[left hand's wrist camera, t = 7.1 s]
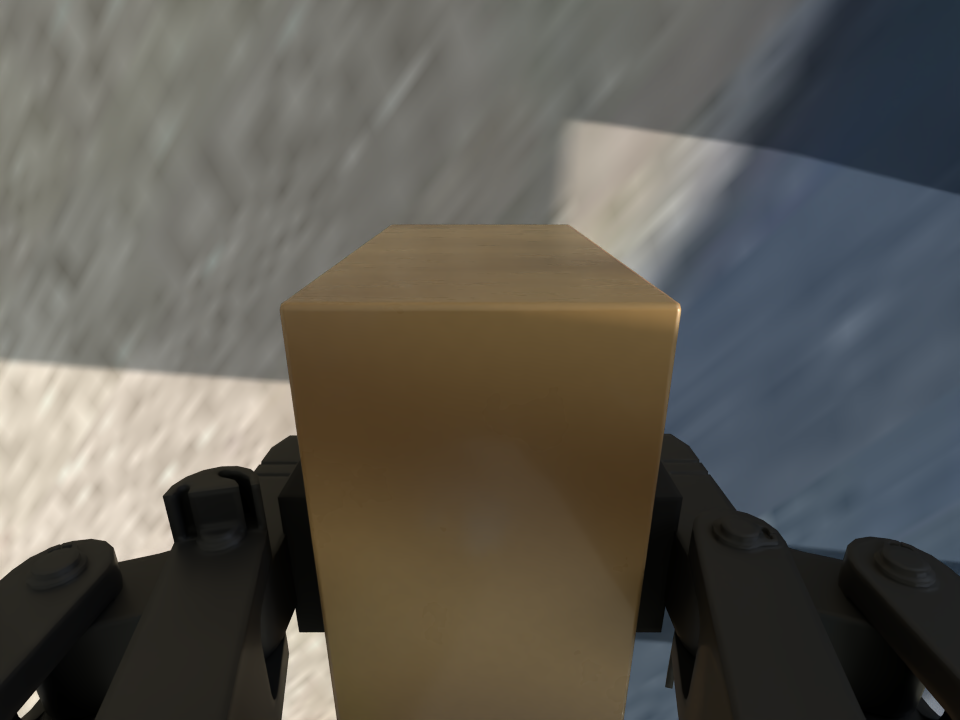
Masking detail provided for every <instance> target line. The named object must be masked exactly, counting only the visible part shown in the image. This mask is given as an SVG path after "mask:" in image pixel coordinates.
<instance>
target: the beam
mask: <svg viewBox="0 0 960 720" xmlns="http://www.w3.org/2000/svg"><path fill="white" fill-rule="evenodd" d="M680 314H681V307H680V304H679V303H678V302H676V301H675V300H673V299H672V298H671V297H669V296H668V295H666V294H665V293H664V292H662V291H661V290H659V289H658V288H657V287H655V286H654V285H652V284H651V283H650V282H648V281H647V280H645V279H644V278H643V277H641V276H640V275H638V274H637V273H636V272H634V271H633V270H631V269H630V268H629V267H627V266H626V265H624V264H623V263H622V262H620V261H619V260H617V259H616V258H615V257H613V256H612V255H610V254H609V253H608V252H606V251H605V250H603V249H602V248H601V247H599V246H598V245H596V244H595V243H594V242H592V241H591V240H589V239H588V238H587V237H585V236H584V235H582V234H581V233H580V232H578V231H577V230H575V229H574V228H573V227H571V226H570V225H391V226H389V227H388V228H386V229H385V230H383V231H382V232H381V233H379V234H378V235H376V236H375V237H374V238H372V239H371V240H370V241H368V242H367V243H365V244H364V245H363V246H361V247H360V248H358V249H357V250H356V251H354V252H353V253H351V254H350V255H349V256H347V257H346V258H344V259H343V260H342V261H340V262H339V263H338V264H336V265H335V266H333V267H332V268H331V269H329V270H328V271H326V272H325V273H324V274H322V275H321V276H319V277H318V278H317V279H315V280H314V281H312V282H311V283H310V284H308V285H307V286H306V287H304V288H303V289H301V290H300V291H299V292H297V293H296V294H294V295H293V296H292V297H290V298H289V299H287V300H286V301H285V302H283V303H282V304H281V307H280V315H281V323H282V330H283V337H284V344H285V351H286V358H287V366H288V373H289V380H290V387H291V394H292V401H293V408H294V416H295V423H296V430H297V437H298V444H299V451H300V459H301V466H302V473H303V480H304V487H305V494H306V502H307V509H308V516H309V523H310V530H311V537H312V545H313V552H314V559H315V566H316V573H317V580H318V587H319V595H320V602H321V609H322V616H323V623H324V630H325V638H326V645H327V652H328V659H329V666H330V673H331V681H332V688H333V695H334V702H335V709H336V716H337V720H624V713H625V705H626V698H627V691H628V684H629V677H630V670H631V663H632V656H633V649H634V641H635V634H636V627H637V620H638V613H639V606H640V599H641V592H642V585H643V577H644V570H645V563H646V556H647V549H648V542H649V535H650V528H651V521H652V513H653V506H654V499H655V492H656V485H657V478H658V471H659V464H660V457H661V449H662V442H663V435H664V428H665V421H666V414H667V407H668V400H669V393H670V385H671V378H672V371H673V364H674V357H675V350H676V343H677V336H678V329H679V321H680Z"/></svg>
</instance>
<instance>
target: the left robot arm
mask: <svg viewBox="0 0 960 720" xmlns="http://www.w3.org/2000/svg"><path fill="white" fill-rule="evenodd" d="M163 499H164V503H165V507H166V511H167V515H168V519H169V523H170V527H171V531H172V535H173V539H174V544H173V547H172V549H171V550H170V551H167V552H163V553H160V554H155V555H150V556H146V557H141V558H136V559H131V560H127V561H122V562H118V561H117V558H116V554H115V551H114V548H113V547H112V546H111V545H110V544H108V543H107V542H106V541H101V540H95V539H86V540H78V541H71V542H67V543H63V544H61V545H60V544H59V545H56V546H53V547H51V548H48V549H47V550H45V551H43V552H41V553H39V554H37V555H35V556H32V557H30V558H29V559H27V560H26V561H25V562H23V563H22V564H20V565H19V566H17V567H16V568H15V569H13V570H12V571H11V572H9V573H8V574H7V575H6V576H5V577H4V578H3V579H1V580H0V720H281V719H282V710H283V701H284V693H285V684H286V675H287V666H288V658H289V650H288V643H287V637H286V629H287V627H288V625H289V622H290V620H291V617H292V615H293V612H294V610H295V609H296V615H297V621H298V627H299V632H325V630H324V623H323V616H322V609H321V602H320V595H319V587H318V580H317V573H316V566H315V559H314V552H313V545H312V537H311V530H310V523H309V516H308V509H307V502H306V494H305V487H304V480H303V473H302V466H301V459H300V451H299V444H298V437H297V436H289V437H287V438H285V439H284V440H282V441H281V442H279V443H278V444H276V445H275V446H273V447H272V448H271V449H270V451H269V452H268V453H267V455H266V456H265V457H264V459H263V460H262V462H261V464H259V466H258V467H257V468H256V470H255V471H252V470H251V469H248V468H244V467H239V466H222V467H217V468H212V469H207V470H203V471H200V472H198V473H195V474H192V475H190V476H187V477H185V478H184V479H182V480H181V481H179V482H177V483H176V484H174V485H173V486H171V487H170V489H169V490H168V491H167V492H166V493H165V494H164V495H163ZM665 607H666V609H667V611H668V614H669V616H670V619H671V621H672V623H673V626H674V628H675V631H674V637H673V643H672V649H671V654H670V660H669V666H668V672H667V678H666V685H665V687H667V688H672V687H673V682H674V683H675V691H676V700H677V709H678V717H679V720H960V576H958V575H957V574H956V573H955V572H954V571H953V570H951V569H950V568H949V567H948V566H946V565H945V564H943V563H942V562H940V561H939V560H937V559H936V558H935V557H933V556H932V555H930V554H928V553H926V552H923V551H921V550H919V549H917V548H915V547H914V546H912V545H909V544H906V543H903V542H899V541H896V540H891V539H886V538H877V537H864V538H858V539H855V540H854V541H852V542H851V543H850V544H849V545H848V546H847V549H846V552H845V556H844V559H843V560H840V559H835V558H830V557H826V556H821V555H816V554H811V553H807V552H802V551H798V550H795V549H791V548H788V546H787V544H786V541H785V540H784V539H783V537H782V536H781V535H780V533H779V532H778V531H777V530H776V529H774V528H773V527H772V526H770V525H769V524H768V523H766V522H765V521H763V520H761V519H759V518H757V517H754V516H752V515H750V514H748V513H744V512H740V511H736V509H735V508H734V506H733V505H732V504H731V502H730V501H729V500H728V498H727V497H726V496H725V494H724V493H723V491H722V490H721V489H720V487H719V486H718V485H717V483H716V482H715V481H714V479H713V478H712V477H711V475H708V471H707V470H706V468H705V467H704V466H703V464H702V463H699V459H698V458H697V456H696V455H695V453H694V452H693V451H692V449H691V448H690V447H689V446H688V445H687V444H685V443H684V442H682V441H681V440H679V439H678V438H676V437H675V436H673V435H672V434H664V435H663V442H662V449H661V457H660V464H659V471H658V478H657V485H656V492H655V499H654V506H653V513H652V521H651V528H650V535H649V542H648V549H647V556H646V563H645V570H644V577H643V585H642V592H641V599H640V606H639V613H638V620H637V627H636V632H661V630H662V623H663V617H664V611H665ZM925 687H926V689H927V690H928V691H929V692H930V693H931V694H932V696H933V697H934V698H935V699H936V700H937V701H938V703H939V704H940V705H941V706H942V707H943V709H944V710H945V711H944V713H943V715H942V716H939V715H938V714H937V713H935V712H934V711H933V710H932V709H931V708H930V707H929V705H928V704H927V703H926V702H925V701H924V699H923V698H922V697H921V696H922V694H923V692H924V689H925ZM36 690H37V693H38V695H39V698H40V699H39V700H38V702H37V703H36V704H35V705H34V707H33V708H32V709H31V710H30V711H29V712H28V713H27V714H25V715H24V716H23V717H22V718H20V717H18V714H17V712H18V711H19V710H20V708H21V707H22V706H23V705H24V704H25V702H26V701H27V700H28V699H29V698H30V697H31V695H32V694H33V693H34V692H35V691H36Z"/></svg>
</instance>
